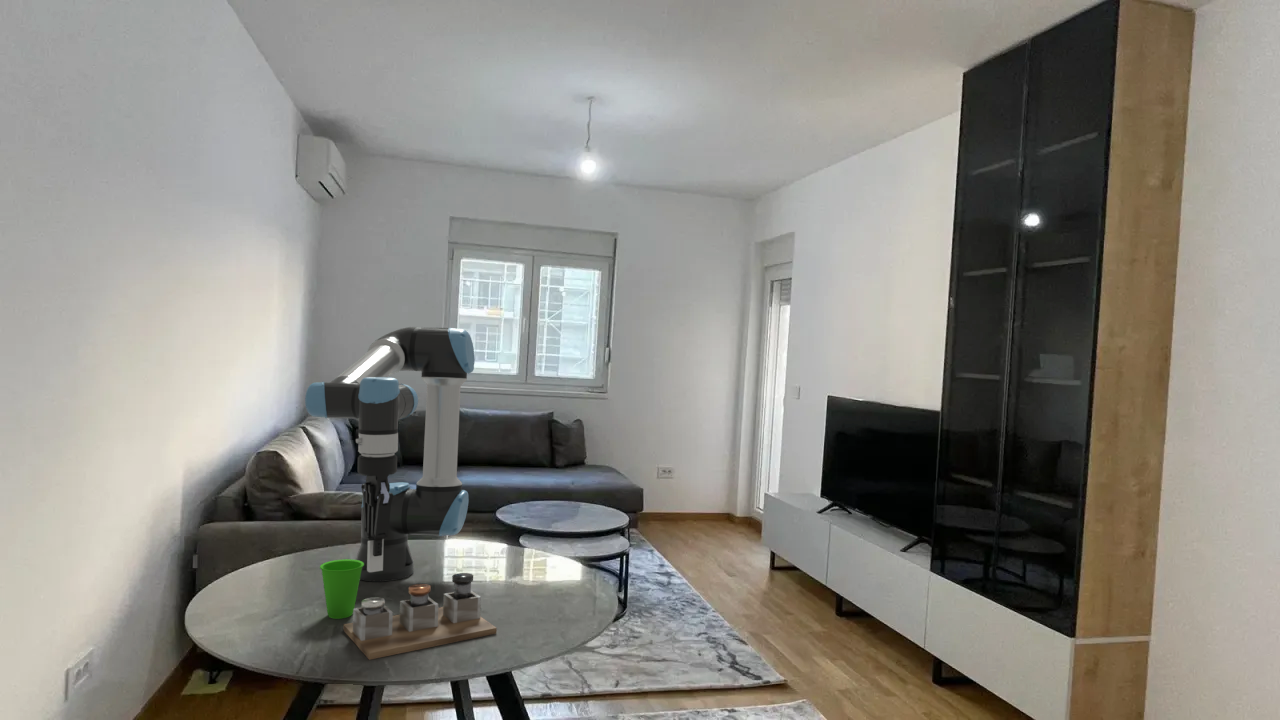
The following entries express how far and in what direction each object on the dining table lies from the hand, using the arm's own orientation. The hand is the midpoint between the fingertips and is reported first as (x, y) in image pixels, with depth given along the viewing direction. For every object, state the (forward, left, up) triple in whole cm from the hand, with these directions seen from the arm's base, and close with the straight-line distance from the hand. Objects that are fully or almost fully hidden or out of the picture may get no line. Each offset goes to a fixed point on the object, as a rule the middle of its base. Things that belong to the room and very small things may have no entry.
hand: (374, 570), depth 152 cm
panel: (+1, +9, -14) cm, 17 cm away
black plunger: (0, +19, -9) cm, 21 cm away
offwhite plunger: (0, 0, -11) cm, 11 cm away
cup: (-17, -2, -14) cm, 22 cm away
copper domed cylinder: (0, +9, -10) cm, 13 cm away
